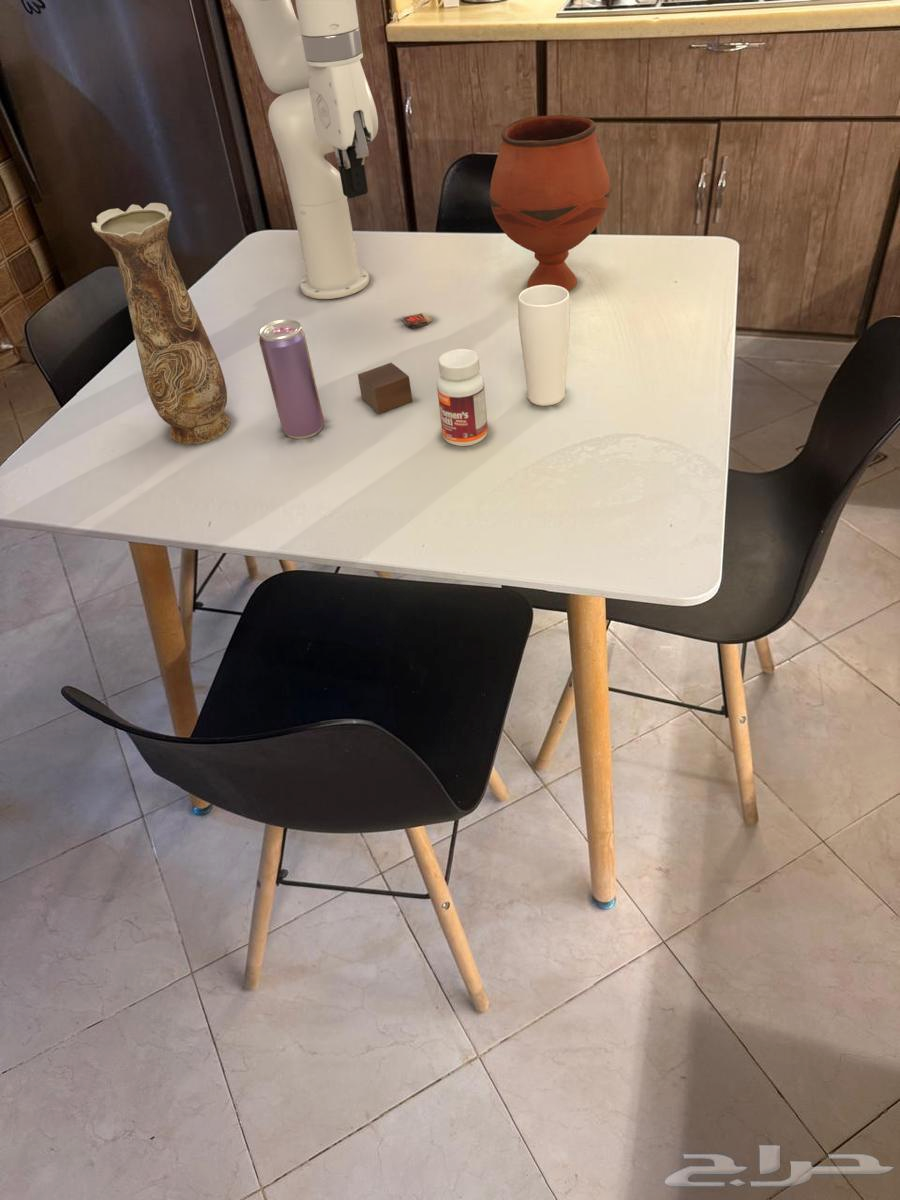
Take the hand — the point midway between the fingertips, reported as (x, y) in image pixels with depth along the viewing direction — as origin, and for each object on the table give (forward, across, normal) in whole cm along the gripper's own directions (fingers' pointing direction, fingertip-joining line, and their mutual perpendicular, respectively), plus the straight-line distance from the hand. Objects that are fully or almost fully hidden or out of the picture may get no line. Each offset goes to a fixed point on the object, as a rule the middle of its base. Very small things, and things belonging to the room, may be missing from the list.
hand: (355, 194), depth 125 cm
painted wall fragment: (+23, -2, +8) cm, 24 cm away
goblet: (+23, +1, +33) cm, 40 cm away
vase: (+23, +8, -33) cm, 41 cm away
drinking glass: (+23, +32, +10) cm, 41 cm away
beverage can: (+23, +17, -21) cm, 35 cm away
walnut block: (+22, +18, -8) cm, 30 cm away
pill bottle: (+22, +33, -4) cm, 40 cm away
